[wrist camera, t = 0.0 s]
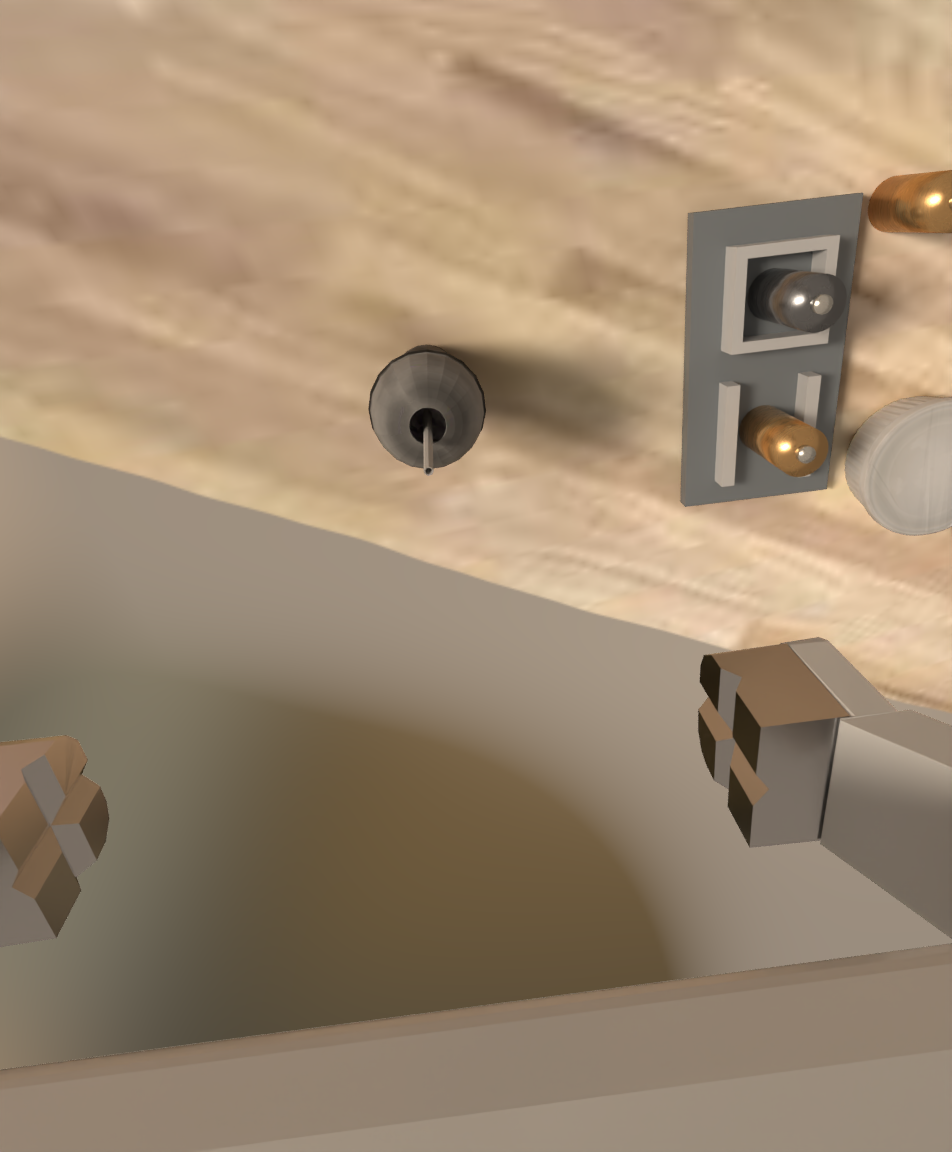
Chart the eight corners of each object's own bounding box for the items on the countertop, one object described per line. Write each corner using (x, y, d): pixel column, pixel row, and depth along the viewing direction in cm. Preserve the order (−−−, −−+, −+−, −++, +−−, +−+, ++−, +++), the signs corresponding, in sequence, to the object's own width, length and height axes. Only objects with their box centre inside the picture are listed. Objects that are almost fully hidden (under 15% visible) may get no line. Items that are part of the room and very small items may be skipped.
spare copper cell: (740, 408, 56) (784, 433, 49) (785, 402, 56) (835, 427, 49) (737, 452, 57) (780, 482, 50) (781, 446, 57) (829, 476, 51)
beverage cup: (475, 326, 53) (501, 377, 35) (473, 422, 56) (496, 514, 38) (376, 324, 52) (352, 375, 34) (380, 422, 55) (360, 515, 38)
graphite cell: (749, 270, 51) (798, 277, 44) (798, 265, 51) (855, 271, 44) (745, 322, 53) (793, 337, 46) (793, 317, 53) (847, 330, 46)
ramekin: (981, 461, 61) (1029, 481, 56) (863, 537, 63) (898, 562, 58) (934, 355, 56) (981, 367, 51) (809, 442, 59) (843, 460, 54)
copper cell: (871, 178, 50) (942, 171, 43) (921, 172, 50) (999, 164, 43) (864, 234, 52) (931, 236, 45) (912, 228, 52) (986, 229, 45)
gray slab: (688, 213, 50) (703, 212, 47) (853, 193, 50) (879, 191, 48) (680, 501, 60) (693, 515, 57) (819, 484, 60) (838, 497, 57)
